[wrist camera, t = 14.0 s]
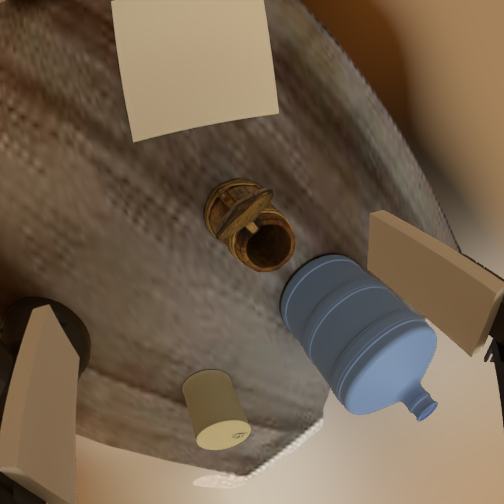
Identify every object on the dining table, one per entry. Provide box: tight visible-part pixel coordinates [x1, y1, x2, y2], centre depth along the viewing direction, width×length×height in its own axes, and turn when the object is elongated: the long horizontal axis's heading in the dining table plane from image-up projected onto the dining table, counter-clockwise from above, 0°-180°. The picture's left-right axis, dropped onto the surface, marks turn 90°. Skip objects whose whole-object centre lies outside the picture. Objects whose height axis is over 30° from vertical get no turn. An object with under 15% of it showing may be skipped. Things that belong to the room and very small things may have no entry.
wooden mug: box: [204, 178, 295, 272], centre depth 33 cm, size 9×14×18 cm, turn 36°
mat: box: [111, 0, 279, 142], centre depth 31 cm, size 18×18×1 cm
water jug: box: [281, 255, 438, 421], centre depth 42 cm, size 16×16×28 cm
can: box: [182, 370, 251, 450], centre depth 50 cm, size 9×9×12 cm
